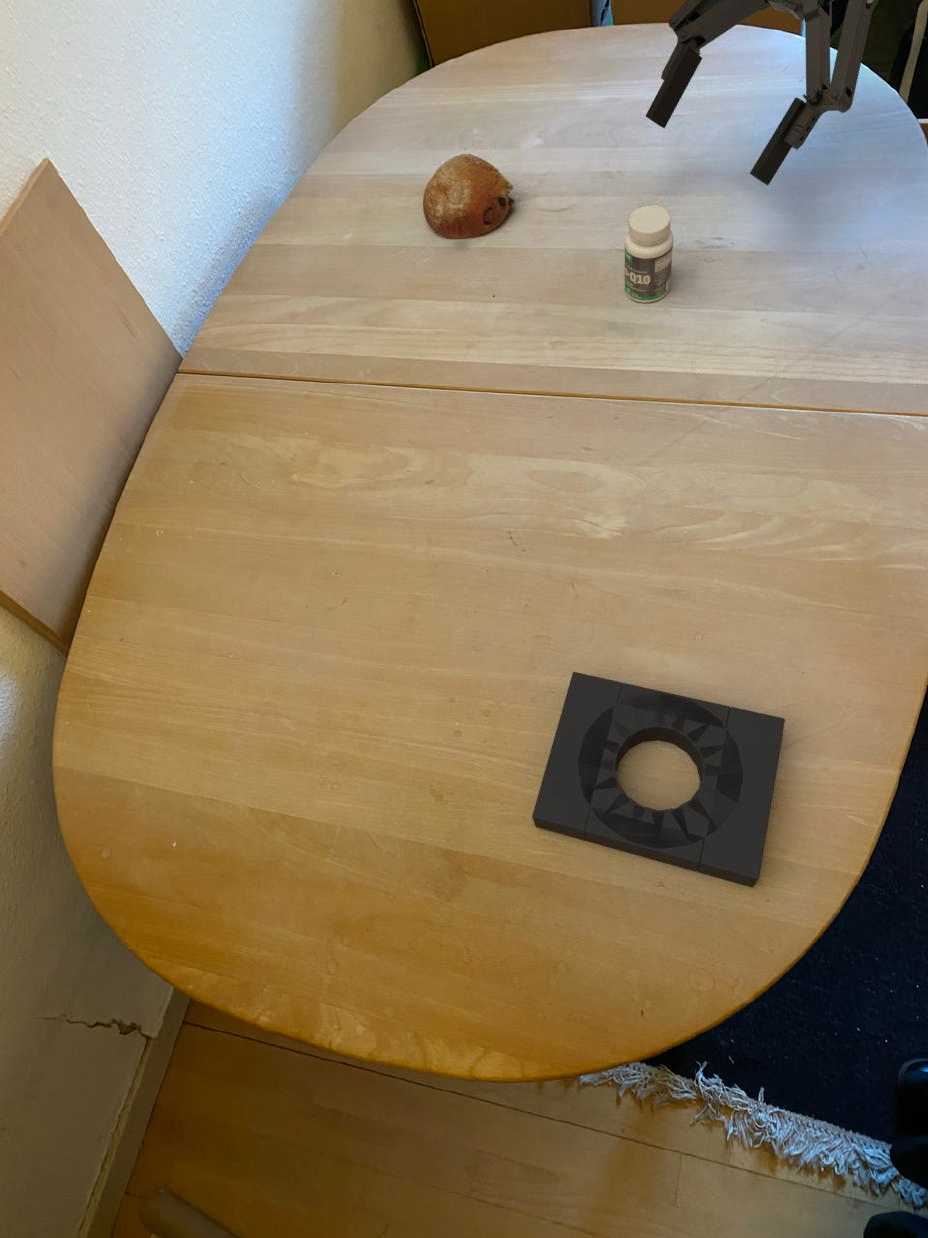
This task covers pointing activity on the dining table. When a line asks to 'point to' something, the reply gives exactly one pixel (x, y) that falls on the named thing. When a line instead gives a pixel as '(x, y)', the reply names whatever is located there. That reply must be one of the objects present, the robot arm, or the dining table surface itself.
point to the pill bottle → (648, 254)
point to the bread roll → (466, 198)
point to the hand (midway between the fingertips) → (704, 150)
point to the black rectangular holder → (684, 836)
